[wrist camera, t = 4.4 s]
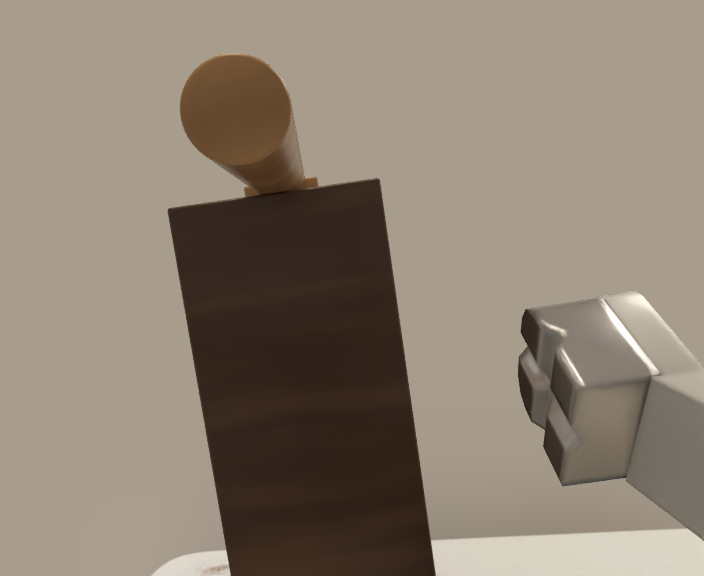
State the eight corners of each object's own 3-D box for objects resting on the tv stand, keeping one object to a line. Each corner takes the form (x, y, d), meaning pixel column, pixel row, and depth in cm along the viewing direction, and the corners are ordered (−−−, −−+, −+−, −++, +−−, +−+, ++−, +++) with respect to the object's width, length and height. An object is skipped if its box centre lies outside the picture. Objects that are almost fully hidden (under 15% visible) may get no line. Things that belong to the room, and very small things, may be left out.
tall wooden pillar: (464, 780, 26) (379, 177, 24) (272, 816, 26) (166, 208, 24) (418, 609, 38) (358, 195, 36) (285, 632, 38) (216, 216, 36)
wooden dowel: (326, 152, 14) (309, 40, 14) (162, 177, 14) (141, 64, 14) (319, 201, 36) (312, 159, 36) (256, 211, 36) (249, 168, 36)
